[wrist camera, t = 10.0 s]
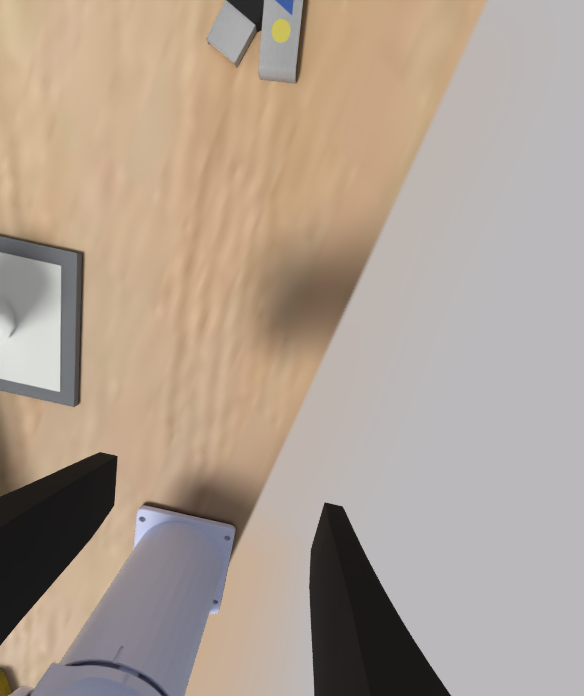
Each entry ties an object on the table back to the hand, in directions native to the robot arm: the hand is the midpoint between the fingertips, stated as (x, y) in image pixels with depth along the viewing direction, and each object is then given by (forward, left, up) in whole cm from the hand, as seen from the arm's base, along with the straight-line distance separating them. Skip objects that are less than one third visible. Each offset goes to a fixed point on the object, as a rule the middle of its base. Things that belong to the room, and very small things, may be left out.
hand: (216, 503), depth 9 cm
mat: (+1, +19, -10) cm, 22 cm away
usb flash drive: (+22, +3, -11) cm, 25 cm away
